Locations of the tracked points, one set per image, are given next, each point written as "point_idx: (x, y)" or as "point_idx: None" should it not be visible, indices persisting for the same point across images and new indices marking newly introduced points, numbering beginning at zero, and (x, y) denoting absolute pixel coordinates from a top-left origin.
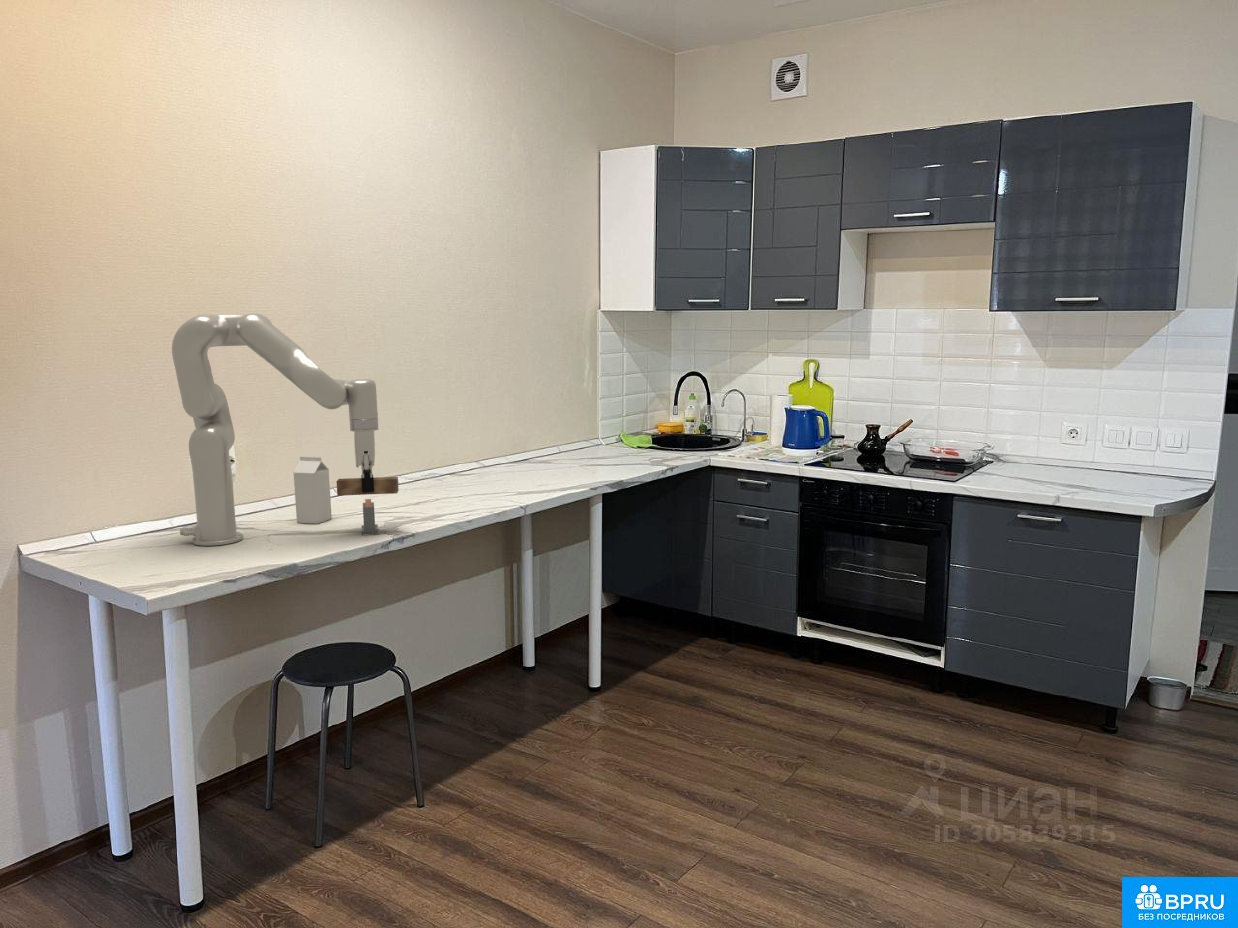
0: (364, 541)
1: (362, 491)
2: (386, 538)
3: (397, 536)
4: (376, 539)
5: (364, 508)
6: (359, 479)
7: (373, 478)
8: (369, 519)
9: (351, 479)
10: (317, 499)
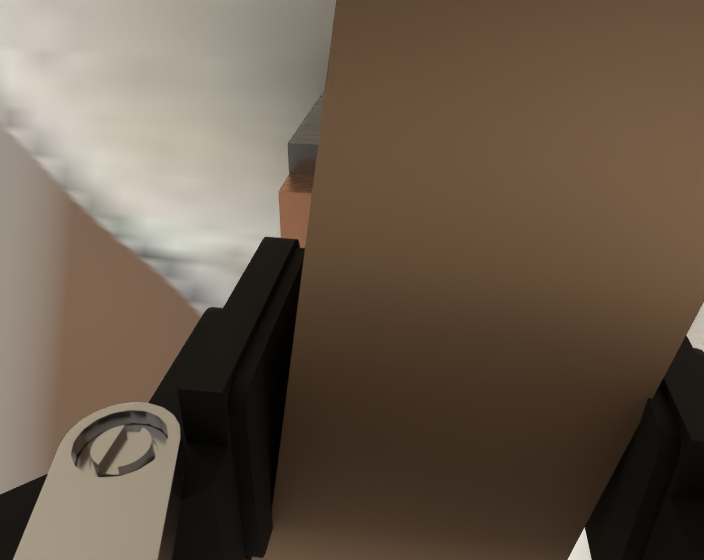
0: (106, 56)
1: (261, 243)
2: (178, 216)
3: (224, 286)
4: (159, 148)
5: (293, 157)
6: (443, 331)
7: (439, 556)
8: None
9: (550, 145)
10: None
